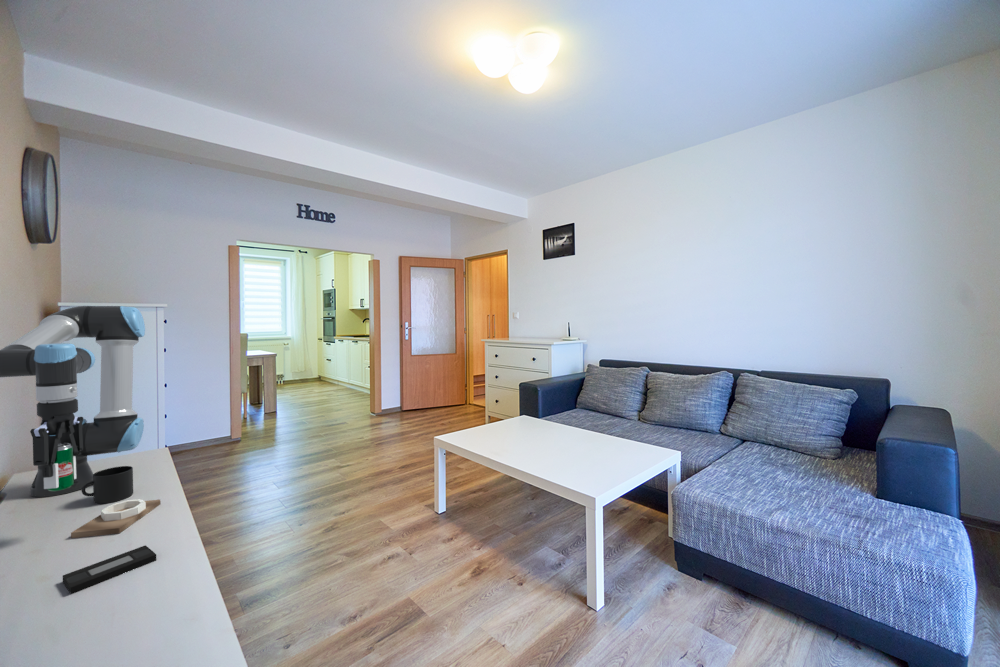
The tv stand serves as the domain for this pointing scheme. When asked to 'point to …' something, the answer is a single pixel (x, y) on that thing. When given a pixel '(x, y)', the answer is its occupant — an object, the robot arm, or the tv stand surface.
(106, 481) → the mug
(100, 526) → the walnut board
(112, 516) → the socket ring
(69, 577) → the vhs tape
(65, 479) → the soda can
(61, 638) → the tv stand surface
